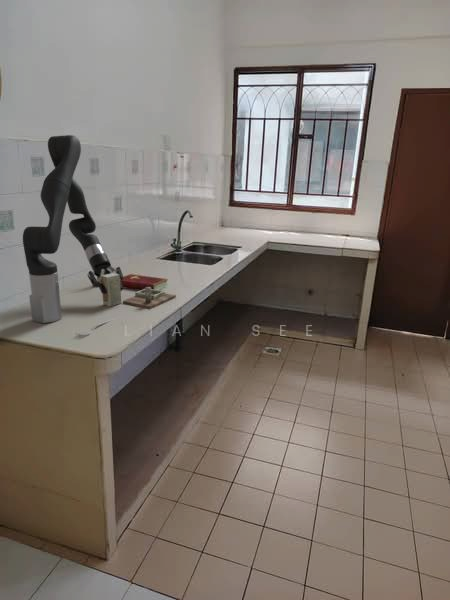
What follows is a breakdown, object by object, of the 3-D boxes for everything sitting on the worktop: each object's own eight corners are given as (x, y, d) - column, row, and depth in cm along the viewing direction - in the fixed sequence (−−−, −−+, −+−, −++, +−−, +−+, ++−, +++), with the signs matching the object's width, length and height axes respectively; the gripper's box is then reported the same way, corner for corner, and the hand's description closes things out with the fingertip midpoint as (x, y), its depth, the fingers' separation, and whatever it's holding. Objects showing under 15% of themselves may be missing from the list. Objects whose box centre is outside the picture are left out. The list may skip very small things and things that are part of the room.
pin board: (150, 308, 167) (150, 291, 165) (122, 303, 173) (122, 286, 171) (175, 297, 183) (175, 281, 181) (149, 292, 189) (148, 277, 187)
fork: (122, 316, 159) (122, 312, 159) (82, 339, 137) (82, 334, 137) (115, 315, 160) (114, 311, 160) (74, 338, 138) (73, 333, 138)
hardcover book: (154, 293, 189) (153, 284, 188) (115, 287, 197) (115, 278, 196) (168, 287, 199) (167, 278, 198) (131, 281, 207) (130, 273, 206)
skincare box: (115, 301, 176) (113, 272, 172) (122, 303, 173) (120, 274, 169) (102, 304, 171) (100, 275, 167) (108, 306, 168) (106, 277, 165)
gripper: (83, 254, 166) (99, 289, 162) (116, 250, 176) (132, 283, 171) (78, 265, 172) (94, 299, 167) (110, 260, 181) (126, 293, 177)
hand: (113, 291), depth 169 cm, fingers closed on skincare box, 6 cm apart
